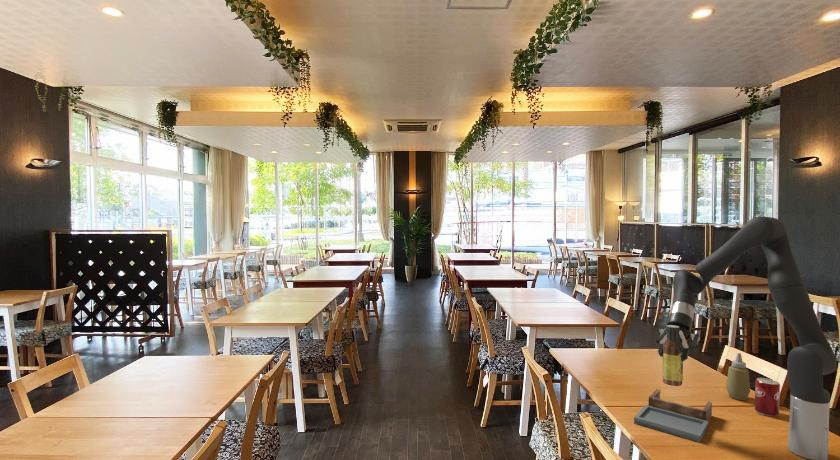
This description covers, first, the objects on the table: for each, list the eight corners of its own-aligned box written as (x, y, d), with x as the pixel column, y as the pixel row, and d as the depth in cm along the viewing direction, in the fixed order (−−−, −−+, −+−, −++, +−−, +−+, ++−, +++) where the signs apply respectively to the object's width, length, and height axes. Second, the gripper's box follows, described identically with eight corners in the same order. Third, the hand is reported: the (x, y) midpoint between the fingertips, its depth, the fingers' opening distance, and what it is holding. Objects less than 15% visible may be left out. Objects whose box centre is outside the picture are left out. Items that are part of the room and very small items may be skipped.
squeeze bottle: (720, 395, 186) (722, 351, 185) (733, 392, 189) (734, 349, 188) (742, 403, 178) (743, 357, 178) (754, 399, 182) (756, 355, 181)
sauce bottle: (685, 387, 154) (687, 329, 153) (665, 386, 155) (667, 328, 154) (678, 380, 160) (680, 324, 159) (659, 379, 161) (660, 323, 161)
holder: (711, 415, 166) (712, 402, 166) (705, 426, 158) (706, 411, 158) (656, 401, 179) (656, 389, 178) (648, 410, 170) (648, 397, 170)
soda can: (756, 414, 168) (757, 382, 168) (752, 407, 174) (753, 376, 174) (781, 418, 165) (782, 385, 164) (776, 411, 171) (777, 379, 171)
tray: (708, 427, 157) (708, 421, 157) (700, 442, 146) (700, 435, 146) (645, 410, 170) (645, 404, 170) (633, 423, 159) (634, 417, 159)
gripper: (657, 308, 168) (647, 347, 159) (702, 314, 158) (694, 356, 150) (660, 320, 172) (651, 359, 163) (705, 326, 162) (697, 368, 154)
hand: (671, 357), depth 156 cm, fingers closed on sauce bottle, 6 cm apart
